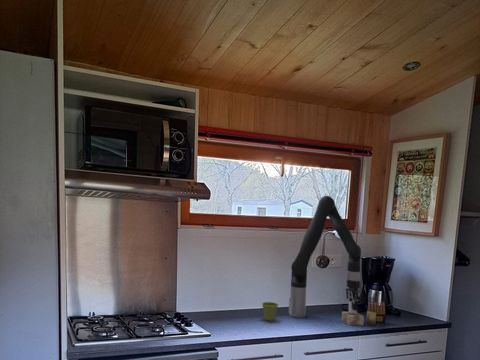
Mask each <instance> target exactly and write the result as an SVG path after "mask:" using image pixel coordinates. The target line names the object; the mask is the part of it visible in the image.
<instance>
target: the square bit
mask: <svg viewBox="0 0 480 360" xmlns="http://www.w3.org/2000/svg"><path fill="white" fill-rule="evenodd" d="M348 305H349V307H348V312H349V315H357V313H358V309H357V310H353V301H348Z"/></svg>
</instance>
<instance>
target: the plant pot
mask: <svg viewBox="0 0 480 360" xmlns="http://www.w3.org/2000/svg"><path fill="white" fill-rule="evenodd" d="M261 305H262V308H263V310H262V311H263V319H264V320H265V321H269V322H273V321H275V320H276V315H277V309H278V306H279V304H278V303H277V302H273V301H271V302H270V301H266V302H265V301H264V302H262V303H261Z"/></svg>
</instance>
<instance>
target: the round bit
mask: <svg viewBox="0 0 480 360" xmlns="http://www.w3.org/2000/svg"><path fill="white" fill-rule="evenodd" d="M366 325H368V326H371V327H372V326H373V327H374V326H376V325H377V323H376V312H375V311H368V310H367V311H366Z"/></svg>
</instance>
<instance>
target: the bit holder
mask: <svg viewBox="0 0 480 360" xmlns="http://www.w3.org/2000/svg"><path fill="white" fill-rule="evenodd" d="M341 321H342V322H343V323H344V324H346V325H348V326H364V325H365V315H362V314H361V313H359V312H357V315H349V311H341Z"/></svg>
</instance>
